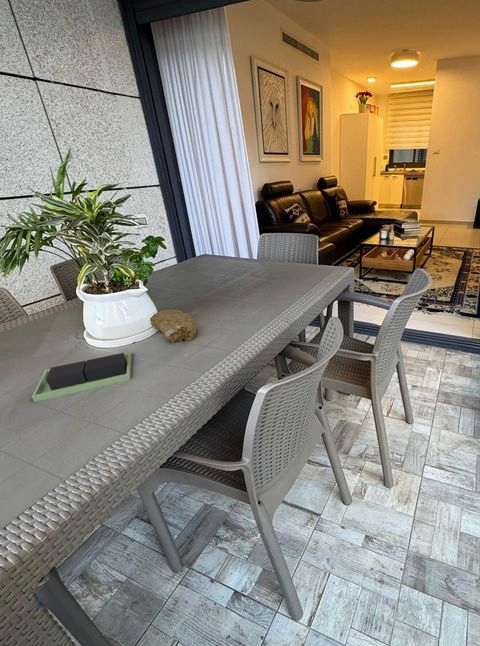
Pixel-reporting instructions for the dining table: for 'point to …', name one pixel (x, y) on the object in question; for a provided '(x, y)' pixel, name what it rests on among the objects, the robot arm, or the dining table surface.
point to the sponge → (174, 324)
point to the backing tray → (46, 393)
